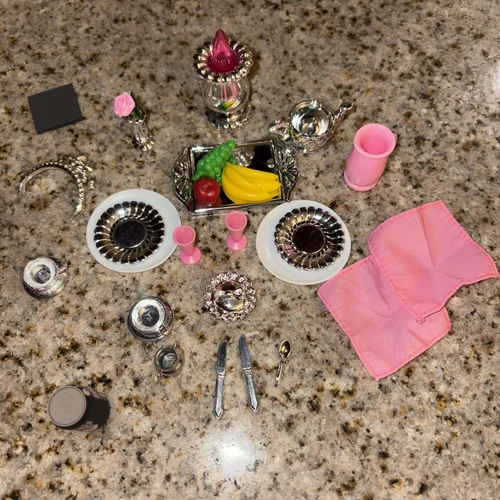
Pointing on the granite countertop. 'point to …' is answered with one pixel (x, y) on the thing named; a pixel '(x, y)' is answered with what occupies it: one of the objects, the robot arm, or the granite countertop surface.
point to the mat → (54, 108)
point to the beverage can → (78, 408)
